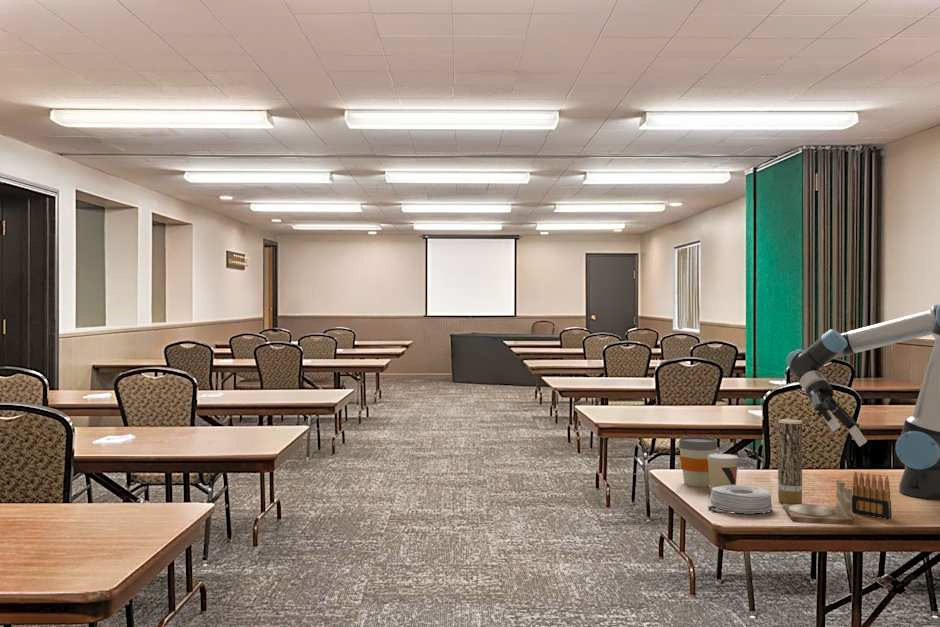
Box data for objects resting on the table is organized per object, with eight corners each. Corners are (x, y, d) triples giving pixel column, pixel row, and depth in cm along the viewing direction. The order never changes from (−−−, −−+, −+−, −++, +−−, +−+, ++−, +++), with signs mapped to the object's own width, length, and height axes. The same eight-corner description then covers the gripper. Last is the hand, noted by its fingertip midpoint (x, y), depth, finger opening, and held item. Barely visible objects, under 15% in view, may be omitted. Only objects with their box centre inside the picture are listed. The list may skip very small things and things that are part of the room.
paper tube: (798, 500, 254) (798, 419, 254) (805, 505, 247) (805, 422, 247) (775, 500, 255) (775, 419, 255) (781, 505, 248) (781, 422, 248)
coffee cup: (727, 498, 257) (727, 459, 257) (701, 493, 265) (701, 455, 265) (743, 494, 263) (743, 456, 263) (718, 489, 271) (718, 452, 271)
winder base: (841, 510, 241) (841, 479, 241) (853, 524, 226) (853, 490, 226) (783, 507, 245) (783, 476, 245) (791, 521, 229) (791, 487, 229)
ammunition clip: (850, 512, 239) (850, 471, 239) (853, 511, 240) (853, 470, 240) (888, 519, 231) (888, 476, 231) (891, 518, 232) (891, 476, 232)
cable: (705, 512, 240) (705, 491, 240) (714, 500, 256) (714, 480, 256) (769, 518, 233) (769, 497, 233) (774, 505, 249) (774, 485, 249)
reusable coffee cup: (672, 480, 284) (672, 437, 284) (706, 479, 287) (706, 436, 287) (689, 488, 272) (688, 442, 272) (724, 486, 274) (724, 441, 274)
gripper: (831, 408, 272) (864, 457, 255) (783, 381, 260) (815, 430, 244) (848, 394, 269) (883, 442, 252) (802, 365, 257) (834, 414, 241)
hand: (850, 436), depth 248 cm, fingers open, 13 cm apart
